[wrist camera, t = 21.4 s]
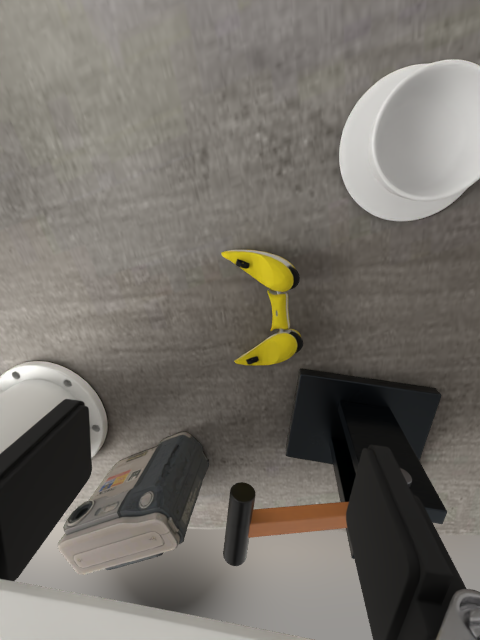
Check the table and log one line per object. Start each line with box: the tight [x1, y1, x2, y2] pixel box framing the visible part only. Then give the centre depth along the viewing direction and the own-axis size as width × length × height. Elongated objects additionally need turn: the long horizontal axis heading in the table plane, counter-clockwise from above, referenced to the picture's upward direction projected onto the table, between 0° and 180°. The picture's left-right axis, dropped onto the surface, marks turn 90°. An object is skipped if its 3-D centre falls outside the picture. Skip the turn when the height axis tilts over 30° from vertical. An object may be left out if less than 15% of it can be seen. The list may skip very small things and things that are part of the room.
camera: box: [58, 432, 209, 575], centre depth 31 cm, size 11×6×10 cm, turn 116°
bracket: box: [286, 369, 447, 559], centre depth 25 cm, size 12×9×12 cm
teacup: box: [339, 59, 480, 221], centre depth 21 cm, size 10×10×5 cm
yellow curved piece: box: [222, 249, 303, 365], centre depth 27 cm, size 10×6×4 cm, turn 6°
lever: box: [223, 482, 349, 566], centre depth 20 cm, size 12×5×2 cm, turn 84°
